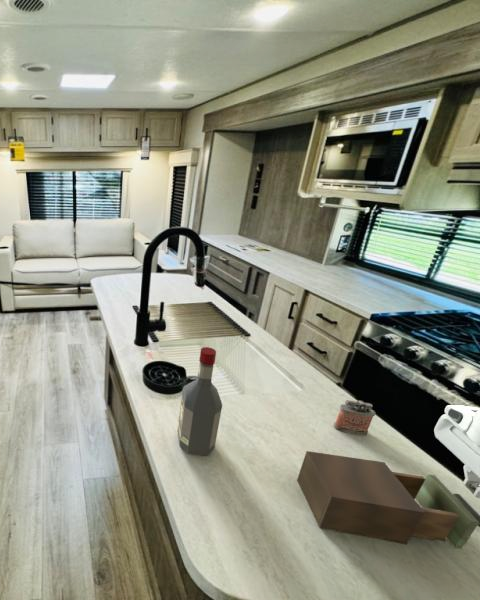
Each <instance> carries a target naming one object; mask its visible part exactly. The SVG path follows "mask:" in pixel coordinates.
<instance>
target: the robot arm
mask: <svg viewBox="0 0 480 600" xmlns="http://www.w3.org/2000/svg"><path fill="white" fill-rule="evenodd" d="M433 432H434V437H435V439H437V440H438V441H439V442H440V443H441V444H442V445H443V446H444V447H445V448H447V450H449V451H450V452H451V453H452V454H453V455H454V456H455V457H456V458H457V459H458V460H460V462H461V463H462V464H464V465H463V468H462V469H463V473H464V480H463V481H462V485H463V486H465V488H466V489H468V491H470V492H471V494H473V495H474V497H475V498H476V499H480V407H475V406H468V405H467V406H465V405H452V404H451V405H449V404H448V405H446V406H445V408H444V414H442V415H441V416H440V417H439V418H438V421H437V422H436V424H435V426H434V429H433Z"/></svg>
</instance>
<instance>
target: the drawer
mask: <svg viewBox="0 0 480 600" xmlns="http://www.w3.org/2000/svg"><path fill="white" fill-rule="evenodd" d="M392 472H393V474H394V475H395V476H396V477H397V479H398V480H399V481H400V482H401V484H402V485H403V486H404V487H405V489H406V490H407V491H408V492H409V494H410V495H411V496H412V497H413V499H414V500H415V501H416V502H417V503H418V505H419V506H420V507H421V508H422V510H423V511H424V512H425V513H424V515H423V517H422V519H421V520H420V522H419V524H418V526H417V527H416V529H415V531H414V533H413V534H412V536H411V537H419V538H423V539H429V540H434V541H440V542H445V541H446V539H447V540H448V542H449V543H450V544H451V545H452V546H453V548H456V549H460V550H462V549H463V548H464V546H465V545H466V543H467V542H468V540H469V539H470V537H471V536H472V535H473V533H474V532H475V531H476V529H477V528H480V514H479V512H478V511H476V510H475V508H474V507H472V506H471V504H470V503H468V502H467V500H466V499H465V498H464V497H463V496H462V495H461V494H460V493H452V492H451V490H449V489H448V487H447V486H446V485H444V483H443V482H442V481H441V480H440V479H439V478H438V477H437V476H436V475H435V474H432V473H428V474H427V475H426V476H425V477H424V476H423V475H419V474H418V475H417V474H411V473H404V472H397V471H392Z"/></svg>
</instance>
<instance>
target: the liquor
mask: <svg viewBox="0 0 480 600" xmlns="http://www.w3.org/2000/svg"><path fill="white" fill-rule="evenodd" d="M216 356H217V350H216V349H215V348H213V347H208V346H204V347H202V348H200V353H199V360H198V361H199V364H198V372H197V376H196V378H195V379H194V380H193V381H191V382H189V383H187V384H186V385H184V386H183V388H182V390H181V398H180V407H179V415H178V425H177V438H178V445H179V447H180V448H181V449H182V450H183V451H184V452H185V453H187V454H190V455H199V456H204V457H205V456H206V457H207V456H208V455H210V454H211V453H212V452H213V451H215V447H216V443H217V436H218V431H219V425H220V421H221V415H222V409H223V402H222V399H221V396H220V394H219V390H218V389H217V387H216V386H215V385H214V384H213V383H212V378H213V372H214V365H215V362H216Z"/></svg>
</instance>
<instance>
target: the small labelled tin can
mask: <svg viewBox="0 0 480 600" xmlns="http://www.w3.org/2000/svg"><path fill="white" fill-rule="evenodd" d="M375 416H376V411H375V410H373V404H372V403H371V402H370V403H369V402H364V401H363V400H357V401H356V400H349V399H345V402H344V404H343V403H342V404H340V405H339V411H338V414H337V416H336V420H335V422H334V423H333V428H334V429H335V430H337V431H340V432H342V433H346V434H347V433H348V434H352V435H358V436H359V435H361V436H366V435H368V433H369V429H370V426H371V423H372V422H373V421H372V420H373V418H374V417H375Z"/></svg>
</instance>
